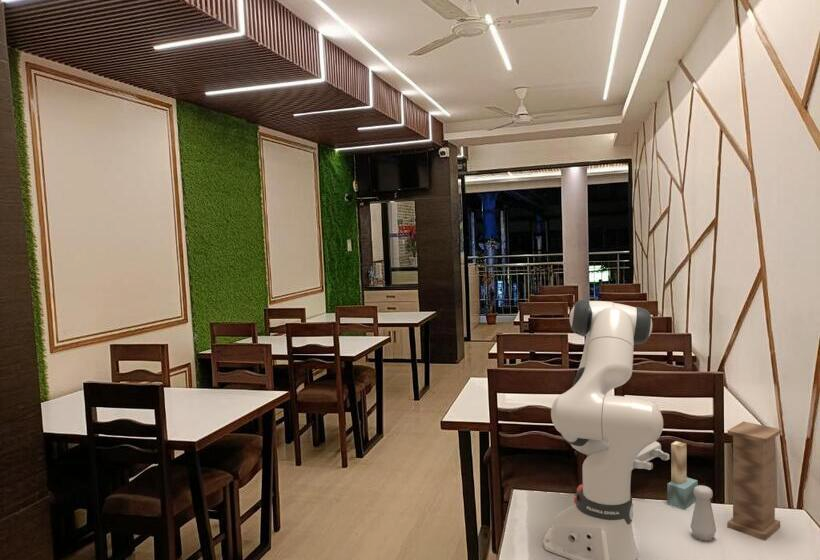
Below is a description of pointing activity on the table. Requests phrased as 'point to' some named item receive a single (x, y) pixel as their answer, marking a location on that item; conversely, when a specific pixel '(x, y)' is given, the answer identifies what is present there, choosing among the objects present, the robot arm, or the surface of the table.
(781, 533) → the table surface
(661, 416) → the robot arm
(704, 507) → the salt shaker
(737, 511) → the pedestal
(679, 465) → the mallet
